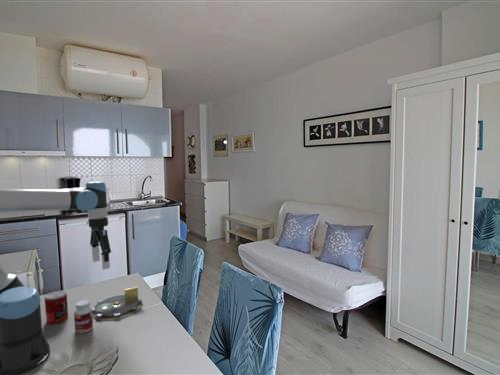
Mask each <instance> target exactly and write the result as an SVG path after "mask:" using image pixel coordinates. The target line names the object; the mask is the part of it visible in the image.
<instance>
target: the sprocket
mask: <svg viewBox="0 0 500 375" xmlns="http://www.w3.org/2000/svg"><path fill="white" fill-rule="evenodd" d="M139 303H142V304H143V299H142V298H139V288H138V286H135V287H130V288H129V287H128V288H124V294H121V295H120V294H114V295H113V296H111V297H107V298H105V299H100V300H98V301H97V304H96V305H95V306H94V307H92V313H94V312H95V314H96V318H98V319H101V318H102V317H104V318H110V317H114V318H119V317H120V316H121V315H124V314H127V313H129V312H131V311H133V312H134V311H136V310H137V306H138V304H139ZM136 312H137V311H136Z"/></svg>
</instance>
